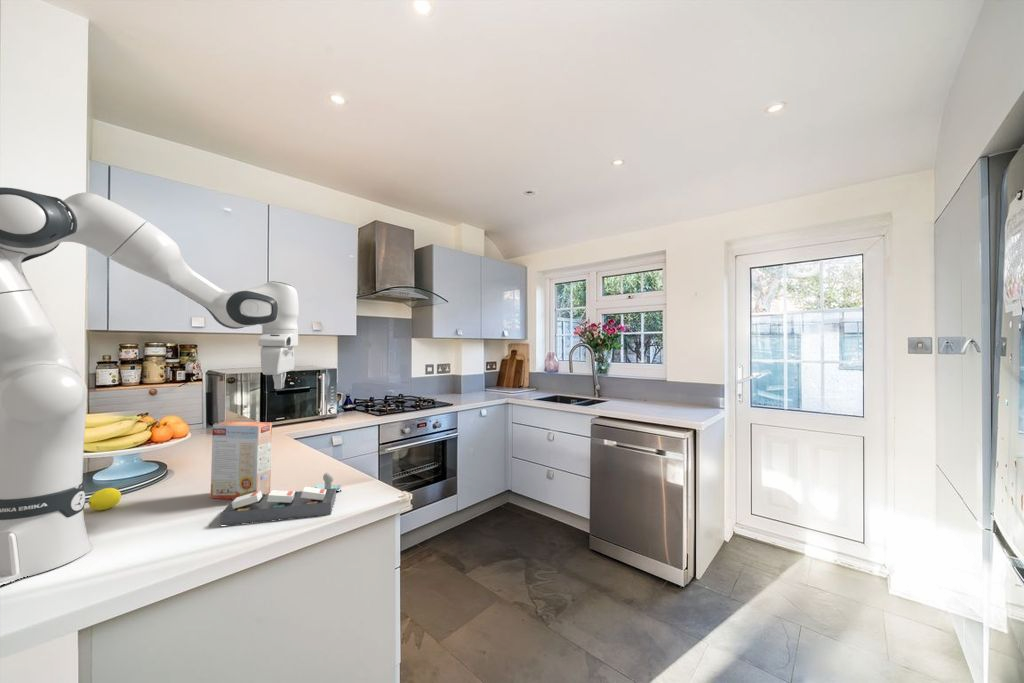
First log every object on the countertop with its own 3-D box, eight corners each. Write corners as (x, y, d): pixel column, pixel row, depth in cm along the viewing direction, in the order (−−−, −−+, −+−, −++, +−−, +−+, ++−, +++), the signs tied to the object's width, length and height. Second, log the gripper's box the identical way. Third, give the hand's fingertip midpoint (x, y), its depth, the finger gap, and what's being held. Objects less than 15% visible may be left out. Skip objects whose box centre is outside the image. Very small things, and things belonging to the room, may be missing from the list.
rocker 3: (300, 497, 98) (302, 490, 98) (303, 492, 101) (305, 485, 101) (323, 500, 99) (325, 493, 99) (325, 495, 103) (326, 488, 103)
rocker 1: (233, 509, 93) (231, 502, 93) (238, 503, 96) (236, 497, 96) (258, 501, 95) (256, 494, 95) (262, 496, 98) (260, 489, 98)
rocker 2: (266, 501, 95) (268, 494, 95) (270, 496, 99) (272, 489, 99) (290, 502, 97) (292, 495, 97) (294, 497, 100) (295, 490, 100)
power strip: (220, 526, 91) (221, 510, 91) (236, 509, 101) (236, 494, 101) (330, 514, 99) (331, 499, 99) (335, 499, 108) (336, 486, 108)
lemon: (107, 505, 102) (111, 484, 103) (126, 506, 102) (130, 485, 103) (77, 513, 96) (81, 491, 96) (97, 514, 95) (101, 491, 96)
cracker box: (271, 493, 112) (273, 421, 112) (255, 501, 106) (257, 425, 106) (227, 490, 113) (229, 419, 114) (209, 498, 107) (211, 423, 108)
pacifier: (324, 488, 117) (312, 495, 111) (325, 467, 117) (313, 473, 112) (346, 489, 116) (335, 496, 110) (347, 469, 117) (336, 474, 111)
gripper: (277, 340, 117) (276, 385, 117) (256, 339, 98) (254, 393, 98) (300, 340, 119) (299, 384, 119) (284, 339, 100) (282, 392, 100)
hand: (279, 388), depth 108 cm, fingers closed
